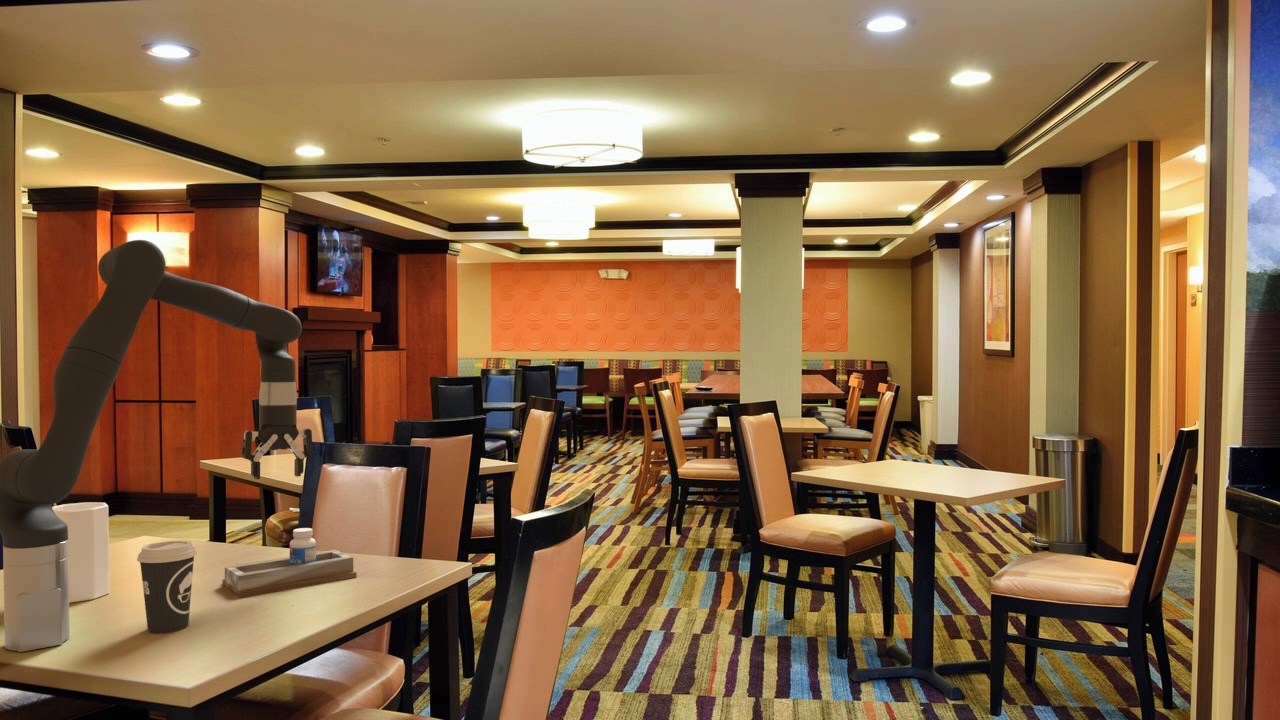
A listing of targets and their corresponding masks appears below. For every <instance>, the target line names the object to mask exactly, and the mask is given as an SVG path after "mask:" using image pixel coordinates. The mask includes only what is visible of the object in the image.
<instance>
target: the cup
mask: <svg viewBox="0 0 1280 720" xmlns="http://www.w3.org/2000/svg"><path fill="white" fill-rule="evenodd" d="M52 509H53V511H54V513H55V514H56V515H57V517H58V518H60V519H61V520H62V521H63V522H65V523H66V525H67V527H68V580H69V604H73V603H80V602H87V601H93V600H96V599H98V598H101V597H103V596H107V595H109V594H110V546H109V545H110V541H109V540H110V539H109V538H110V535H109V531H110V530H109V529H110V528H109V524H110V523H109V505H108V504H107V503H106V502H95V501H94V502H92V501H91V502H90V501H89V502H87V501H85V502H84V501H83V502H77V503H66V504H65V503H64V504H60V505H54V506H52Z"/></svg>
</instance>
